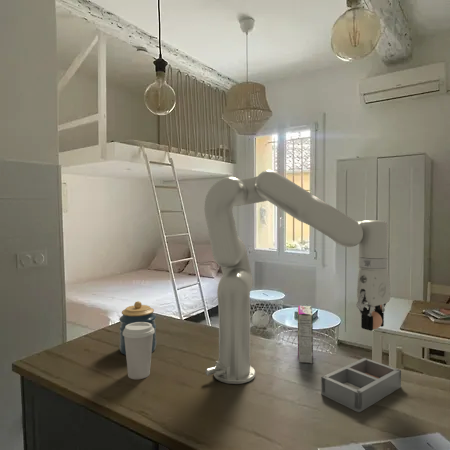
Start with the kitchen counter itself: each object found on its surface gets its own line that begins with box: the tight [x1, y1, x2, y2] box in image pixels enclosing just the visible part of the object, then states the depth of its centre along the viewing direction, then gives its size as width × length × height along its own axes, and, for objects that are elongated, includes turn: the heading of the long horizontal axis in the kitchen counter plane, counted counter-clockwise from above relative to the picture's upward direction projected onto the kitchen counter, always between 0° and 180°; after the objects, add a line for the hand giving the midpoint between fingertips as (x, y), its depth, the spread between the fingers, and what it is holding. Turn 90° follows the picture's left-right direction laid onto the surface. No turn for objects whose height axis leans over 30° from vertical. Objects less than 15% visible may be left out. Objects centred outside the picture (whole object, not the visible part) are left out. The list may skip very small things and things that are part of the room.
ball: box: [371, 310, 382, 330], centre depth 99 cm, size 5×5×5 cm
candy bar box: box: [297, 305, 314, 364], centre depth 120 cm, size 11×5×16 cm, turn 168°
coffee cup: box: [122, 322, 155, 380], centre depth 107 cm, size 10×10×15 cm
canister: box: [118, 300, 157, 356], centre depth 126 cm, size 13×13×18 cm
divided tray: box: [320, 357, 402, 413], centre depth 97 cm, size 21×11×5 cm, turn 127°
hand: (372, 326), depth 99 cm, fingers closed on ball, 4 cm apart
